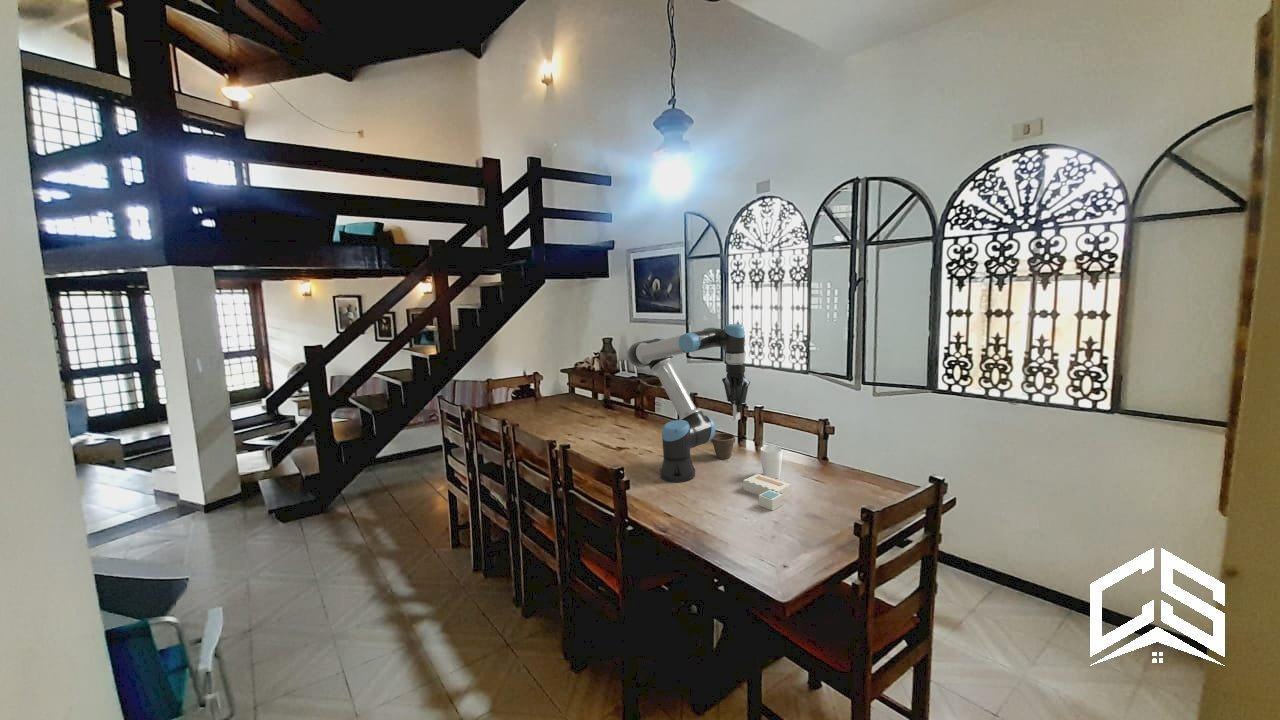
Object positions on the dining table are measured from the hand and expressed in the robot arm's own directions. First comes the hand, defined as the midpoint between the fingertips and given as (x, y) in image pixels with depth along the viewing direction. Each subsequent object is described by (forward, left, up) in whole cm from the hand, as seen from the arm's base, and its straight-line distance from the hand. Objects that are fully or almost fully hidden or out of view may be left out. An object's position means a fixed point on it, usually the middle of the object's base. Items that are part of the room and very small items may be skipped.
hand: (736, 419), depth 215 cm
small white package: (+16, -2, -26) cm, 31 cm away
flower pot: (-22, +16, -27) cm, 38 cm away
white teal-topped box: (+24, -10, -26) cm, 37 cm away
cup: (+8, +12, -27) cm, 30 cm away
